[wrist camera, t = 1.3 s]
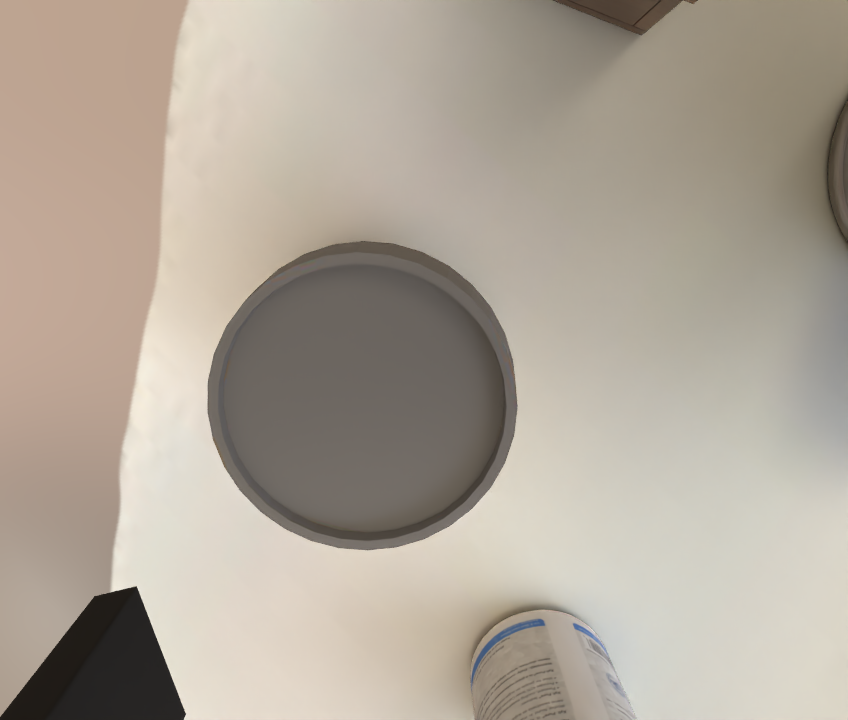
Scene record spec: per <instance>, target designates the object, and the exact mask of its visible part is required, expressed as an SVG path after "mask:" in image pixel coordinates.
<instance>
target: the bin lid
mask: <svg viewBox="0 0 848 720" xmlns="http://www.w3.org/2000/svg"><path fill="white" fill-rule="evenodd" d="M684 1H687V2H689V3H692V4H694V3H695V2H697V1H698V0H684Z"/></svg>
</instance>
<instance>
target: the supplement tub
mask: <svg viewBox="0 0 848 720" xmlns="http://www.w3.org/2000/svg"><path fill="white" fill-rule="evenodd" d="M470 681H471V691H472V699H473V707H474V715H475V720H637V718H636V716H635V713H634V711H633V709H632V707H631V705H630V702H629V700H628V698H627V696H626V693H625V691H624V689H623V687H622V685H621V682H620V680H619V678H618V676H617V673H616V671H615V669H614V667H613V665H612V662H611V660H610V658H609V656H608V654H607V651H606V649H605V647H604V644H603V643H602V641H601V639H600V638H599V637H598V635H597V634H596V633H595V632H594V631H593V630H592V629H591V628H590V627H589V626H588V625H587V624H585V623H584V622H583V621H581V620H579V619H577V618H576V617H574V616H571V615H569V614H566V613H563V612H559V611H553V610H533V611H527V612H523V613H519V614H516V615H513V616H511V617H508V618H506V619H504V620H503V621H501V622H500V623H498V624H497V625H495V626H494V627H493V628H492V629H491V630H490V631H489V632H488V633H487V634H486V635H485V636H484V637H483V639H482V640H481V642H480V643H479V645H478V647H477V649H476V651H475V653H474V656H473V659H472V663H471V670H470Z"/></svg>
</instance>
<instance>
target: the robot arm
mask: <svg viewBox="0 0 848 720" xmlns="http://www.w3.org/2000/svg"><path fill="white" fill-rule="evenodd" d="M828 187H829V194H830V200H831V204H832V208H833V212H834V215H835V218H836V220H837V223H838V225H839V227H840V229H841V231H842V233H843V235H844V237H845V238H846V240H847V242H848V100H847V102H846V104H845V106H844V108H843V110H842V113H841V115H840V117H839V120H838V123H837V126H836V129H835V131H834V135H833V139H832V143H831V148H830V155H829V164H828ZM185 715H186V713H185V711H184V708H183V706H182V703H181V700H180V698H179V695H178V693H177V690H176V688H175V685H174V682H173V680H172V677H171V675H170V672H169V669H168V667H167V664H166V662H165V659H164V656H163V654H162V651H161V649H160V646H159V643H158V641H157V638H156V636H155V633H154V630H153V628H152V625H151V623H150V620H149V617H148V615H147V612H146V610H145V607H144V604H143V602H142V599H141V597H140V594H139V591H138V589H137V586H136V587H132V588H127V589H123V590H119V591H115V592H111V593H107V594H102V595H99V596H94V598H93V599H92V600H91V602H90V603H89V604H88V605H87V607H86V608H85V609H84V611H83V612H82V613H81V614H80V616H79V617H78V618H77V620H76V621H75V622H74V623H73V625H72V626H71V627H70V629H69V630H68V631H67V632H66V634H65V635H64V636H63V637H62V639H61V640H60V641H59V643H58V644H57V645H56V646H55V648H54V649H53V650H52V652H51V653H50V654H49V655H48V657H47V658H46V659H45V661H44V662H43V663H42V664H41V666H40V667H39V668H38V670H37V671H36V672H35V673H34V675H33V676H32V677H31V678H30V680H29V681H28V682H27V684H26V685H25V686H24V687H23V689H22V690H21V691H20V693H19V694H18V695H17V697H16V698H15V699H14V700H13V701H12V703H11V704H10V705H9V707H8V708H7V709H6V710H5V712H4V713H3V714H2V716H1V717H0V720H184V717H185Z"/></svg>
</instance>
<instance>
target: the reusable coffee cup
mask: <svg viewBox="0 0 848 720" xmlns="http://www.w3.org/2000/svg"><path fill="white" fill-rule="evenodd" d="M516 415H517V396H516V385H515V374H514V366H513V359H512V356H511V352H510V349H509V346H508V342H507V339H506V336H505V332H504V331H503V329H502V327H501V325H500V323H499V321H498V319H497V318H496V316H495V314H494V312H493V310H492V308H491V307H490V306H489V304H488V303H487V302H486V301H485V299H484V298H483V297H482V296H481V295H480V293H479V292H478V291H477V290H476V289H475V287H474V286H473V285H472V284H471V283H469V282H468V281H467V280H466V279H464V278H463V277H462V276H461V275H460V274H458V273H457V272H456V271H455V270H453V269H452V268H451V267H450V266H448V265H446V264H444V263H442V262H440V261H438V260H436V259H435V258H433V257H431V256H429V255H427V254H425V253H423V252H420V251H417V250H413V249H410V248H406V247H403V246H399V245H396V244H390V243H378V242H366V241H361V242H352V243H344V244H335V245H331V246H328V247H325V248H322V249H319V250H316V251H312V252H309V253H306V254H304V255H302V256H300V257H299V258H297V259H295V260H294V261H292V262H290V263H288V264H287V265H285V266H283V267H281V268H280V269H278V270H277V271H276V272H275V273H274V274H273V275H272V276H270V277H269V278H268V279H267V280H266V281H265V282H264V283H263V284H261V285H260V286H259V287H258V288H257V289H256V290H255V291H254V292H253V293H252V294H251V295H250V296H249V297H248V298H247V299H246V301H245V302H244V303H243V304H242V306H241V307H240V308H239V310H238V311H237V312H236V314H235V315H234V317H233V318H232V319H231V321H230V322H229V323H228V325H227V326H226V328H225V330H224V333H223V335H222V337H221V339H220V341H219V344H218V346H217V348H216V350H215V353H214V356H213V361H212V365H211V370H210V375H209V379H208V416H209V421H210V426H211V431H212V436H213V441H214V443H215V445H216V448H217V450H218V453H219V455H220V457H221V460H222V462H223V465H224V467H225V468H226V470H227V471H228V473H229V474H230V476H231V477H232V479H233V480H234V482H235V484H236V485H237V487H238V488H239V490H240V491H241V492H242V493H243V494H244V495H245V496H246V497H247V498H248V499H249V500H250V501H251V502H252V503H253V504H254V505H255V506H256V507H257V508H258V509H259V510H260V511H261V512H262V513H263V514H265V515H266V516H267V517H269V518H270V519H272V520H273V521H275V522H276V523H277V524H279V525H280V526H282V527H283V528H285V529H287V530H289V531H291V532H293V533H295V534H298V535H300V536H302V537H304V538H306V539H308V540H311V541H314V542H318V543H322V544H326V545H329V546H333V547H337V548H346V549H359V550H374V549H384V548H394V547H399V546H402V545H406V544H409V543H413V542H416V541H419V540H423V539H425V538H427V537H429V536H431V535H433V534H435V533H437V532H439V531H441V530H443V529H445V528H447V527H449V526H450V525H452V524H453V523H454V522H456V521H457V520H458V519H459V518H461V517H462V516H463V515H465V514H466V513H467V512H469V511H470V510H471V509H472V508H473V507H474V506H475V505H476V504H477V503H478V501H479V500H480V499H481V498H482V497H483V496H484V495H485V493H486V492H487V491H488V490H489V489H490V488H491V486H492V484H493V483H494V481H495V479H496V477H497V476H498V474H499V472H500V470H501V469H502V467H503V465H504V464H505V461H506V458H507V455H508V452H509V449H510V446H511V443H512V440H513V437H514V431H515V423H516Z"/></svg>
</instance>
